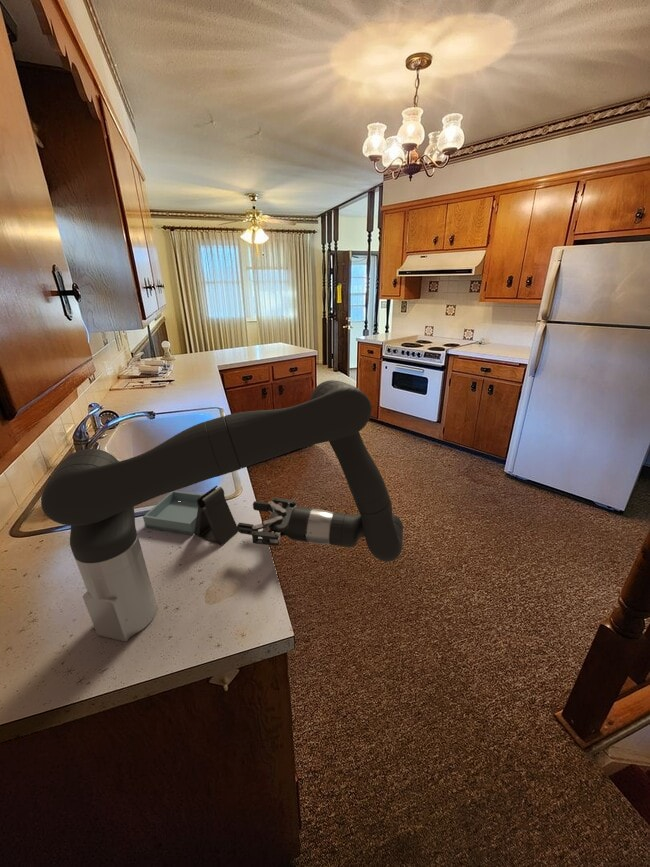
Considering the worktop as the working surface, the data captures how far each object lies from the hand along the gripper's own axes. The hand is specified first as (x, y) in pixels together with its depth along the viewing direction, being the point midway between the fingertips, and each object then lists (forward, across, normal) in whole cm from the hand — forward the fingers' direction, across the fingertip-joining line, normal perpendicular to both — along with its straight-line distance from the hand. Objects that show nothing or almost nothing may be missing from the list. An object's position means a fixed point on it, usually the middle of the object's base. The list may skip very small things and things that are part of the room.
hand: (246, 515), depth 82 cm
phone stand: (+9, 0, +7) cm, 11 cm away
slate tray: (+21, -4, +7) cm, 22 cm away
